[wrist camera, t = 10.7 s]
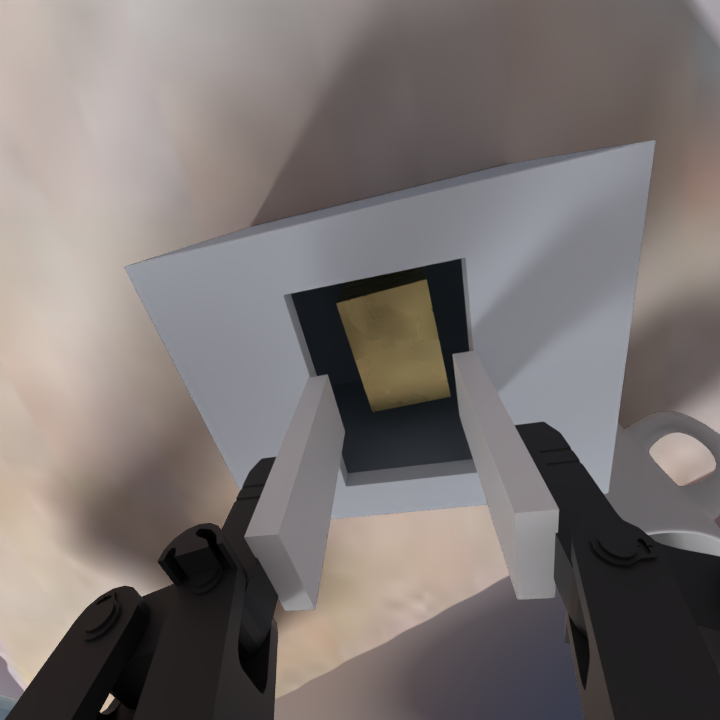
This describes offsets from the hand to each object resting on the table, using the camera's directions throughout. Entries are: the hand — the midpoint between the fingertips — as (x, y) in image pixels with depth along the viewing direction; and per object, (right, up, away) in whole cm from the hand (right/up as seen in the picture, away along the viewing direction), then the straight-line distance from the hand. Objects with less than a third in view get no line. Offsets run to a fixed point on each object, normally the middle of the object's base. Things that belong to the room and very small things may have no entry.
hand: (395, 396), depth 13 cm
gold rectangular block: (+1, +5, +10) cm, 12 cm away
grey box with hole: (+1, +6, +11) cm, 12 cm away
